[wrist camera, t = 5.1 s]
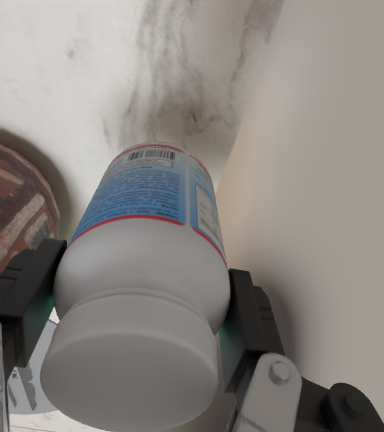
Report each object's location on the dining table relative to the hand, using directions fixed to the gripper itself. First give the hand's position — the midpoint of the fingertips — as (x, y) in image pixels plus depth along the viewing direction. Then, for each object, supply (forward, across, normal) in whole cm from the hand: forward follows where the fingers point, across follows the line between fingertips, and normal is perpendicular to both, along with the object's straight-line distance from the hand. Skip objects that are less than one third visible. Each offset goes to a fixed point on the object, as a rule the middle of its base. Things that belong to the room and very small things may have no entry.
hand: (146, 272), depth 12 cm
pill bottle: (+7, 0, 0) cm, 7 cm away
